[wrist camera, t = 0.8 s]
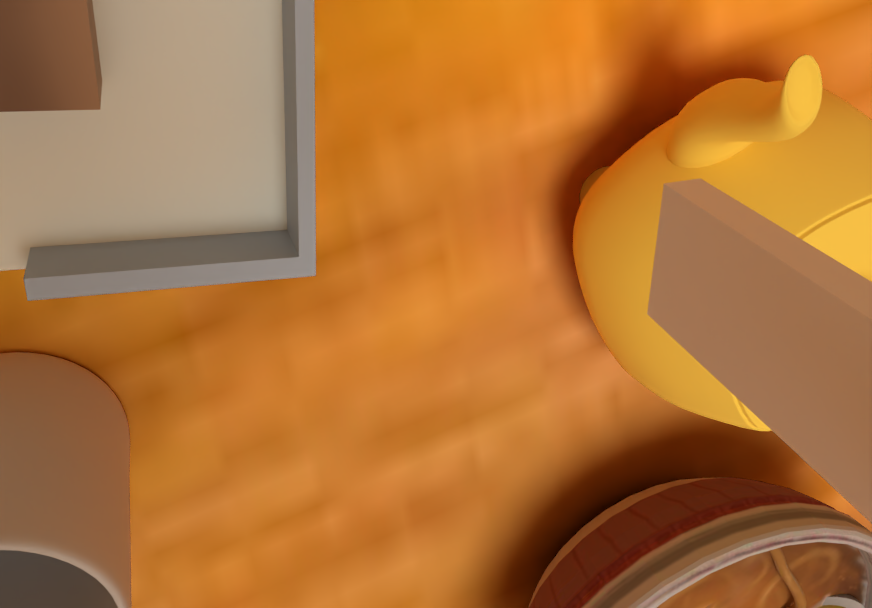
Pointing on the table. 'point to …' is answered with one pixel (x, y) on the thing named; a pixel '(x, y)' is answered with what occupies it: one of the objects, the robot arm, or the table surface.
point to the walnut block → (49, 56)
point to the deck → (171, 155)
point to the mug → (62, 487)
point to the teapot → (740, 179)
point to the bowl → (713, 552)
